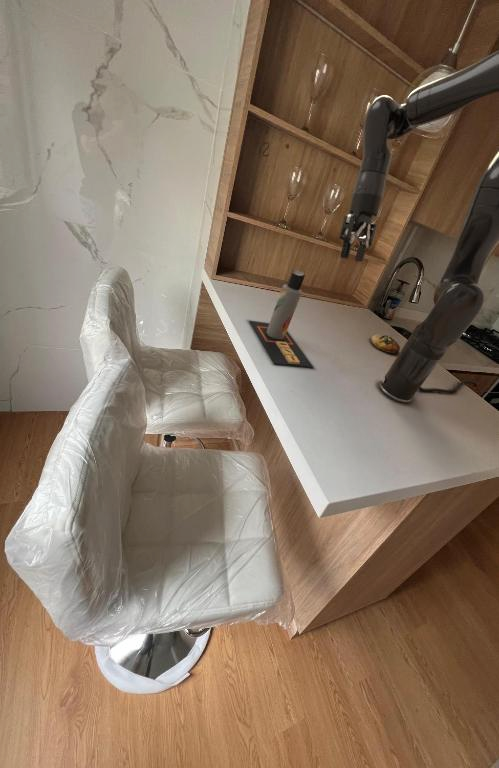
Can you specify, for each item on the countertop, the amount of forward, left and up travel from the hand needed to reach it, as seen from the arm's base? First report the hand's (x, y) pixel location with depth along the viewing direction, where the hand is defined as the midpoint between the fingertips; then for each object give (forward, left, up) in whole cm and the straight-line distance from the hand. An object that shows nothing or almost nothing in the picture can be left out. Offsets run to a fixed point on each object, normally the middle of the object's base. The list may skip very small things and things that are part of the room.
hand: (351, 259), depth 92 cm
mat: (+15, -2, -27) cm, 31 cm away
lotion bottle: (+14, -6, -26) cm, 30 cm away
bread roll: (-31, +10, -27) cm, 42 cm away
